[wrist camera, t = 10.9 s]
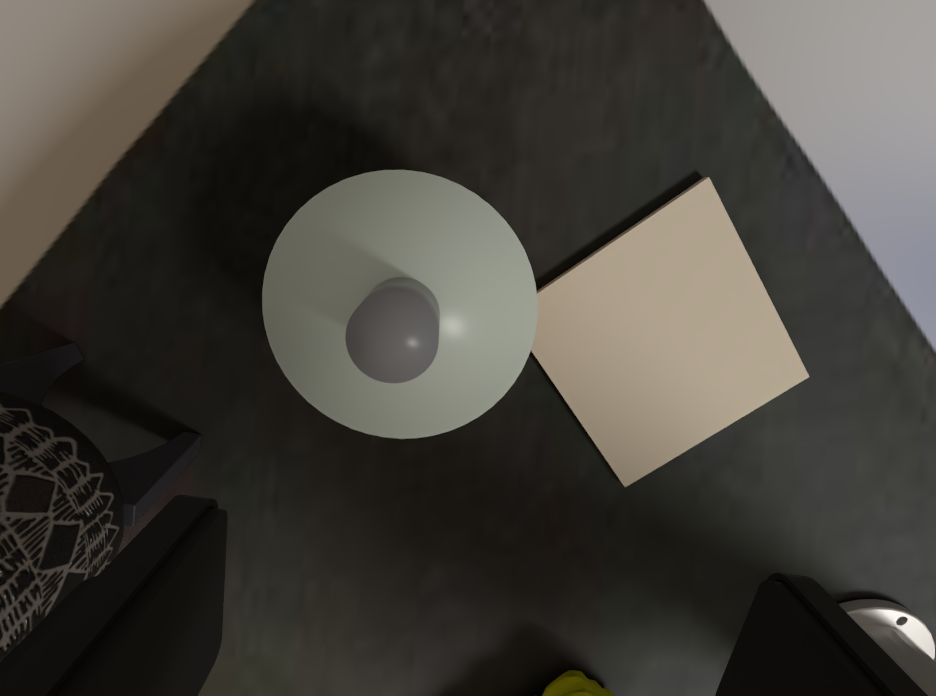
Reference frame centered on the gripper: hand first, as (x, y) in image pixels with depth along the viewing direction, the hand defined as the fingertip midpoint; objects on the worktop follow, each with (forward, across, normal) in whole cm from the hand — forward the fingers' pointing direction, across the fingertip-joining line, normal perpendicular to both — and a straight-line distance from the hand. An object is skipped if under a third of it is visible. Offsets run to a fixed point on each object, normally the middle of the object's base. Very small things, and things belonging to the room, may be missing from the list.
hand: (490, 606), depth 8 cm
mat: (+23, -13, 0) cm, 26 cm away
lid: (+17, +3, -1) cm, 17 cm away
